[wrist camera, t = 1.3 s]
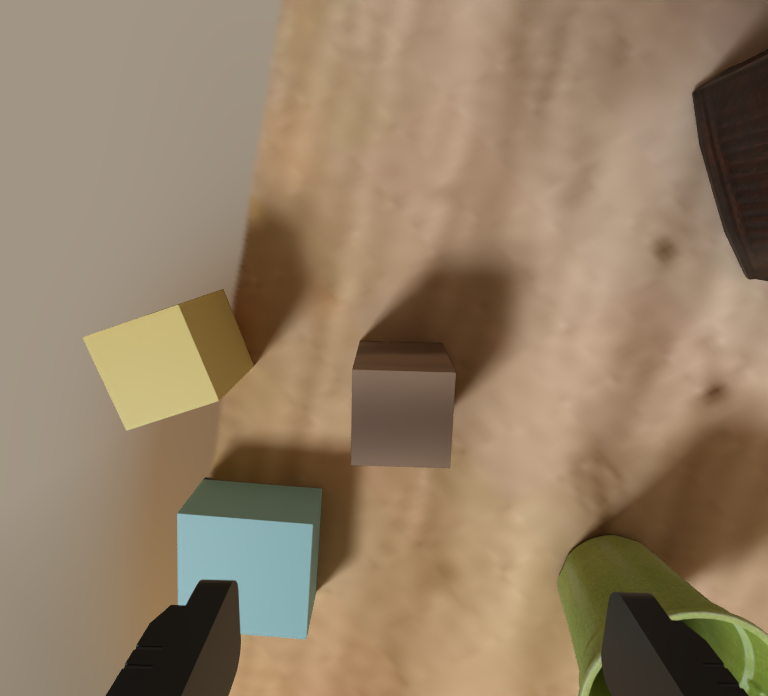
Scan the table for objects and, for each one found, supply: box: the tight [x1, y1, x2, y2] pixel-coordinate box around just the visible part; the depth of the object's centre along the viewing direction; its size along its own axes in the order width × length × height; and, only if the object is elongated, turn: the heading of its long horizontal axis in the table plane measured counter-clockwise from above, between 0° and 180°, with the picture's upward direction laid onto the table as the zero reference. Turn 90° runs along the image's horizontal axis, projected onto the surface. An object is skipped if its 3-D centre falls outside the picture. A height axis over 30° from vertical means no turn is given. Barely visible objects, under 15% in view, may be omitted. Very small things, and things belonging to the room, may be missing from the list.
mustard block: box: [83, 289, 254, 430], centre depth 25 cm, size 4×4×6 cm
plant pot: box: [558, 535, 768, 696], centre depth 27 cm, size 9×9×9 cm
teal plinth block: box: [177, 477, 322, 639], centre depth 29 cm, size 7×7×4 cm
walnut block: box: [351, 341, 456, 468], centre depth 26 cm, size 4×4×6 cm
